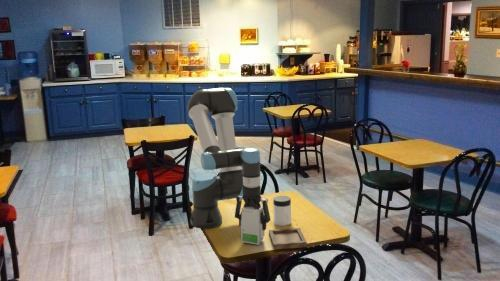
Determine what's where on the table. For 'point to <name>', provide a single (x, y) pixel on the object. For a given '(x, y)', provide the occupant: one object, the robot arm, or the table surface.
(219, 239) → the table surface
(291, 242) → the brown wooden tray
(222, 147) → the robot arm
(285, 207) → the jar
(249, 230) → the skincare box
